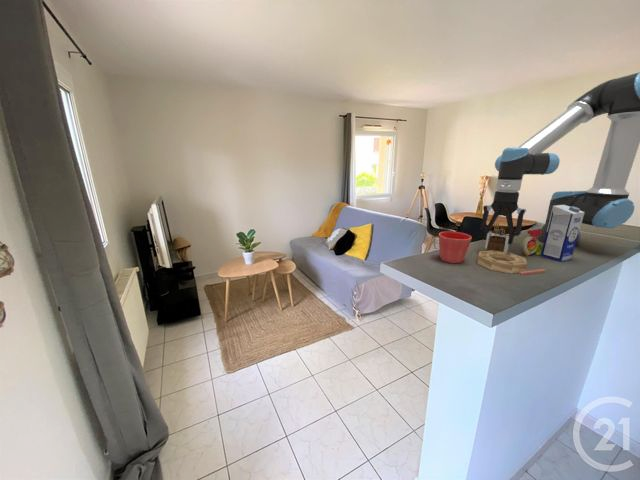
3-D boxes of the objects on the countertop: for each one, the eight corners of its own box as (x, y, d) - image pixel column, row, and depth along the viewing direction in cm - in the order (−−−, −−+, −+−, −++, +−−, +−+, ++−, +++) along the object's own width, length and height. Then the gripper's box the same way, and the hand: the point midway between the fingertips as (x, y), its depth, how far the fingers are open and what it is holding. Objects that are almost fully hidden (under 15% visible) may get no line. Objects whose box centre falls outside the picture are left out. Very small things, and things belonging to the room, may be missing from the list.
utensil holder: (489, 256, 104) (495, 226, 100) (483, 251, 110) (488, 222, 106) (506, 257, 103) (512, 227, 99) (499, 251, 109) (504, 223, 105)
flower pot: (467, 266, 93) (471, 240, 91) (434, 261, 99) (437, 236, 96) (468, 257, 102) (472, 233, 100) (437, 253, 107) (440, 230, 105)
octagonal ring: (499, 256, 103) (500, 249, 102) (534, 270, 90) (536, 262, 89) (468, 259, 100) (470, 252, 99) (501, 274, 87) (502, 266, 86)
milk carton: (551, 253, 106) (563, 204, 100) (571, 259, 100) (586, 206, 94) (540, 256, 103) (552, 205, 98) (560, 261, 98) (575, 208, 92)
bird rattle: (534, 263, 102) (550, 251, 104) (532, 239, 98) (549, 227, 100) (517, 258, 108) (533, 247, 109) (515, 234, 103) (531, 224, 105)
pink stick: (542, 271, 89) (543, 269, 89) (545, 272, 89) (545, 270, 88) (518, 274, 87) (519, 271, 87) (521, 275, 86) (521, 272, 86)
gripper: (476, 190, 103) (467, 246, 109) (536, 193, 90) (522, 258, 96) (482, 188, 108) (473, 242, 114) (540, 192, 95) (526, 253, 101)
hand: (495, 249), depth 105 cm, fingers closed on utensil holder, 6 cm apart
